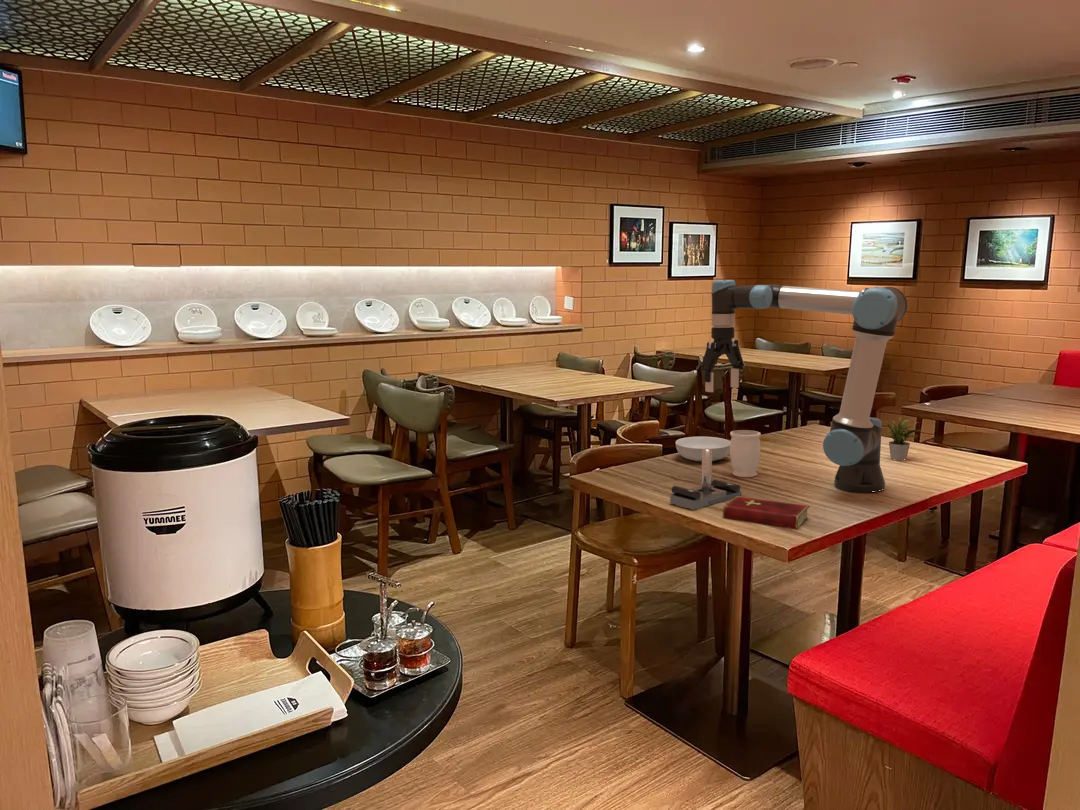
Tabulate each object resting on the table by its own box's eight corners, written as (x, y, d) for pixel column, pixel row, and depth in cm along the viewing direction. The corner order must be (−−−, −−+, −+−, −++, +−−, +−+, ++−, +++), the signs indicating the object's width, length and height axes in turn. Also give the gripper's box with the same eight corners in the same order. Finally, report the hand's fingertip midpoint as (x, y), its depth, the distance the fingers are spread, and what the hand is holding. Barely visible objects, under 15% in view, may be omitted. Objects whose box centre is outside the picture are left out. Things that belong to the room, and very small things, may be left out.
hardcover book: (797, 530, 208) (797, 516, 207) (722, 519, 219) (722, 505, 218) (808, 519, 217) (809, 504, 217) (736, 508, 229) (737, 495, 228)
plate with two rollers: (741, 495, 240) (742, 479, 240) (693, 510, 226) (693, 493, 226) (717, 490, 248) (718, 473, 247) (669, 504, 234) (669, 486, 233)
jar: (761, 478, 260) (762, 435, 258) (730, 478, 262) (730, 435, 260) (758, 471, 270) (759, 429, 268) (728, 470, 273) (729, 429, 270)
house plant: (889, 465, 274) (891, 420, 272) (867, 456, 288) (869, 414, 285) (925, 463, 276) (928, 418, 273) (903, 454, 289) (905, 412, 287)
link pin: (713, 499, 237) (713, 449, 234) (707, 501, 235) (707, 451, 233) (705, 497, 239) (706, 448, 237) (699, 499, 237) (699, 449, 235)
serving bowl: (664, 459, 292) (664, 442, 291) (698, 451, 305) (698, 434, 304) (708, 468, 276) (708, 450, 275) (742, 459, 289) (743, 441, 288)
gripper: (736, 324, 265) (735, 384, 269) (689, 328, 250) (689, 392, 253) (755, 324, 260) (753, 386, 263) (707, 329, 244) (707, 394, 247)
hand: (722, 389), depth 258 cm, fingers open, 13 cm apart
